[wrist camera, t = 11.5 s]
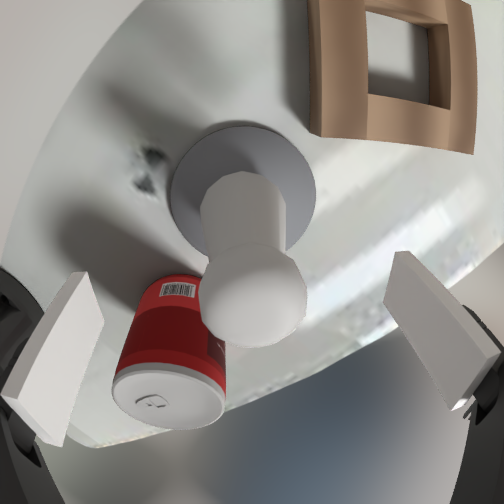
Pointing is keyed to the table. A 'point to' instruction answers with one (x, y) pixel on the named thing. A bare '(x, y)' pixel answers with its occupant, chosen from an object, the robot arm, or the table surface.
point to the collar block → (387, 108)
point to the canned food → (171, 360)
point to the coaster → (248, 160)
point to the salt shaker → (248, 264)
